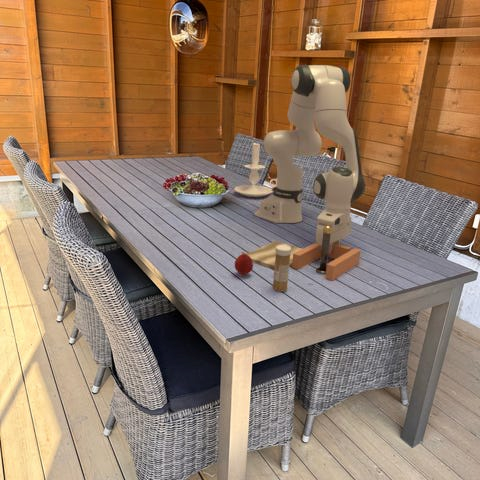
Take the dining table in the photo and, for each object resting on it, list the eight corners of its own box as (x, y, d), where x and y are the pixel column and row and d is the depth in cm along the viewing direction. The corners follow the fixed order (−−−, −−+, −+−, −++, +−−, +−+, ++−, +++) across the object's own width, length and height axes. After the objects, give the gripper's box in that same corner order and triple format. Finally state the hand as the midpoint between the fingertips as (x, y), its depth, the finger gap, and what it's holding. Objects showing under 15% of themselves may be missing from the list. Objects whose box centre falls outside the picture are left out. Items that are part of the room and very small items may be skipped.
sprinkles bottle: (271, 285, 139) (274, 244, 135) (286, 285, 140) (289, 244, 135) (273, 292, 135) (277, 249, 130) (288, 292, 135) (292, 250, 131)
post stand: (313, 271, 151) (318, 225, 145) (319, 267, 154) (325, 222, 149) (325, 275, 148) (330, 228, 143) (331, 271, 152) (337, 225, 146)
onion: (251, 272, 148) (253, 249, 145) (252, 279, 143) (254, 255, 140) (233, 271, 148) (234, 248, 145) (234, 279, 142) (235, 255, 140)
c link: (320, 252, 168) (322, 239, 166) (358, 263, 159) (360, 250, 158) (291, 267, 153) (293, 253, 151) (331, 280, 145) (333, 266, 143)
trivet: (242, 258, 159) (242, 255, 158) (275, 243, 174) (276, 240, 174) (280, 271, 149) (280, 268, 149) (312, 254, 165) (312, 251, 165)
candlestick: (286, 198, 241) (290, 145, 231) (243, 201, 231) (246, 145, 222) (268, 189, 258) (272, 139, 249) (228, 191, 249) (230, 139, 239)
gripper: (341, 207, 169) (337, 242, 173) (314, 218, 153) (310, 256, 158) (357, 211, 165) (352, 246, 170) (331, 222, 150) (326, 261, 154)
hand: (332, 251), depth 164 cm, fingers closed on c link, 2 cm apart
